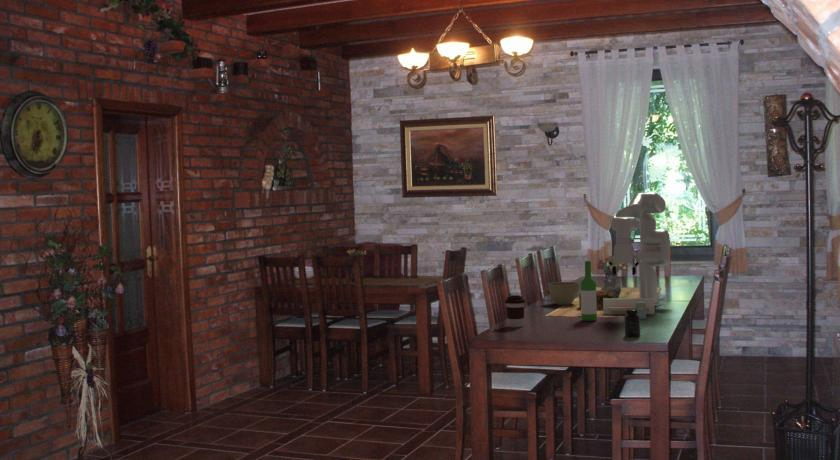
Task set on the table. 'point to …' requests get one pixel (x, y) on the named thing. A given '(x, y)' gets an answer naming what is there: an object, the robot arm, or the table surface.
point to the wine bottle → (588, 295)
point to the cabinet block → (641, 309)
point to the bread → (600, 297)
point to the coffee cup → (515, 310)
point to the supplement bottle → (632, 323)
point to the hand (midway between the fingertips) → (624, 274)
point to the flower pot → (563, 292)
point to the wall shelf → (625, 305)
